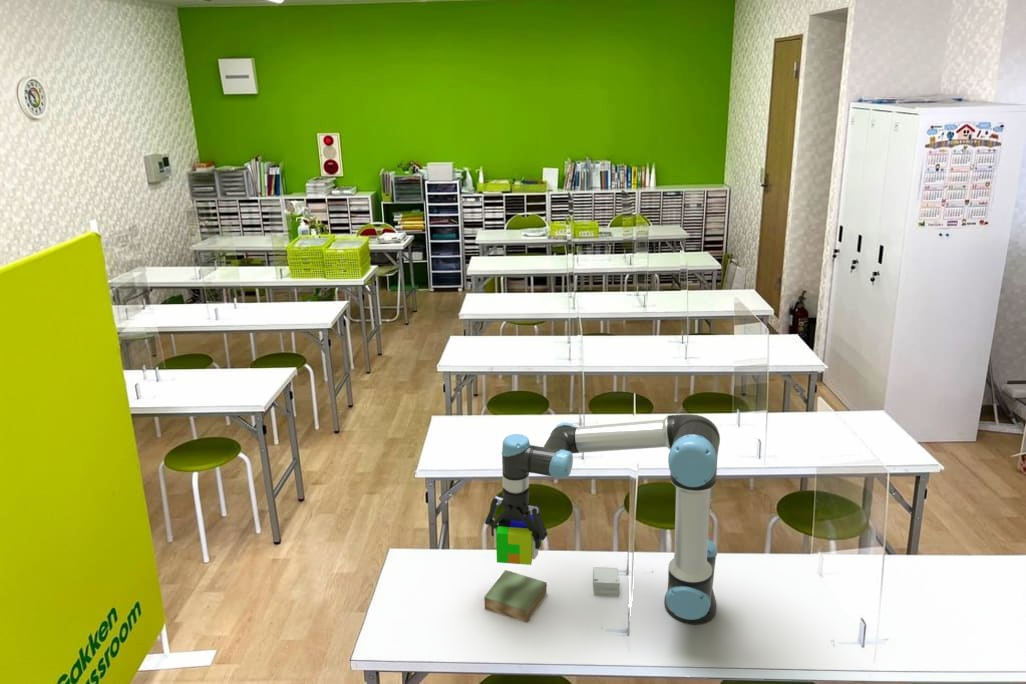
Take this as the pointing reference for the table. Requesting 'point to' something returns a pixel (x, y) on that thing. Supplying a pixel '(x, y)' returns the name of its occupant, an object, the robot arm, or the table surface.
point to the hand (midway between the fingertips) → (515, 551)
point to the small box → (605, 581)
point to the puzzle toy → (513, 541)
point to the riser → (515, 596)
